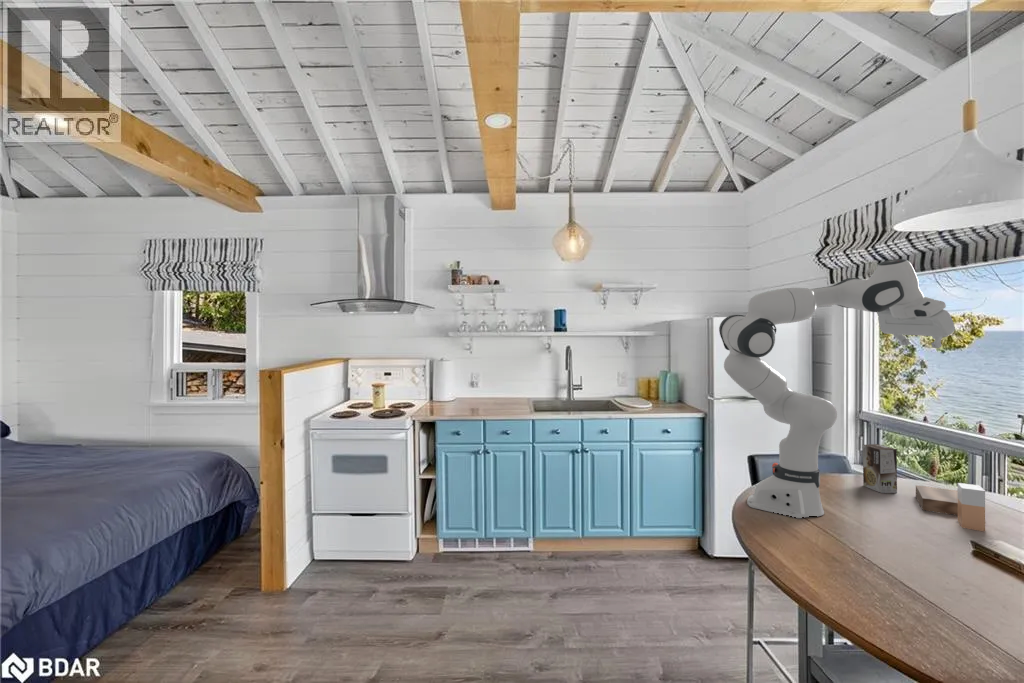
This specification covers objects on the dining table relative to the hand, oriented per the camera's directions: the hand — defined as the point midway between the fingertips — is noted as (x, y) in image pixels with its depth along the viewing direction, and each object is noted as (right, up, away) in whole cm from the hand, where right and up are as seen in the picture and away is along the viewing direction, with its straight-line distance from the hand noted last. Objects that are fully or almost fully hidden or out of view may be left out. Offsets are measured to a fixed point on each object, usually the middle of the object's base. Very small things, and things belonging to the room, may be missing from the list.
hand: (921, 346), depth 148 cm
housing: (+9, -55, -7) cm, 56 cm away
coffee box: (+9, -54, +28) cm, 62 cm away
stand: (+16, -54, +9) cm, 57 cm away
